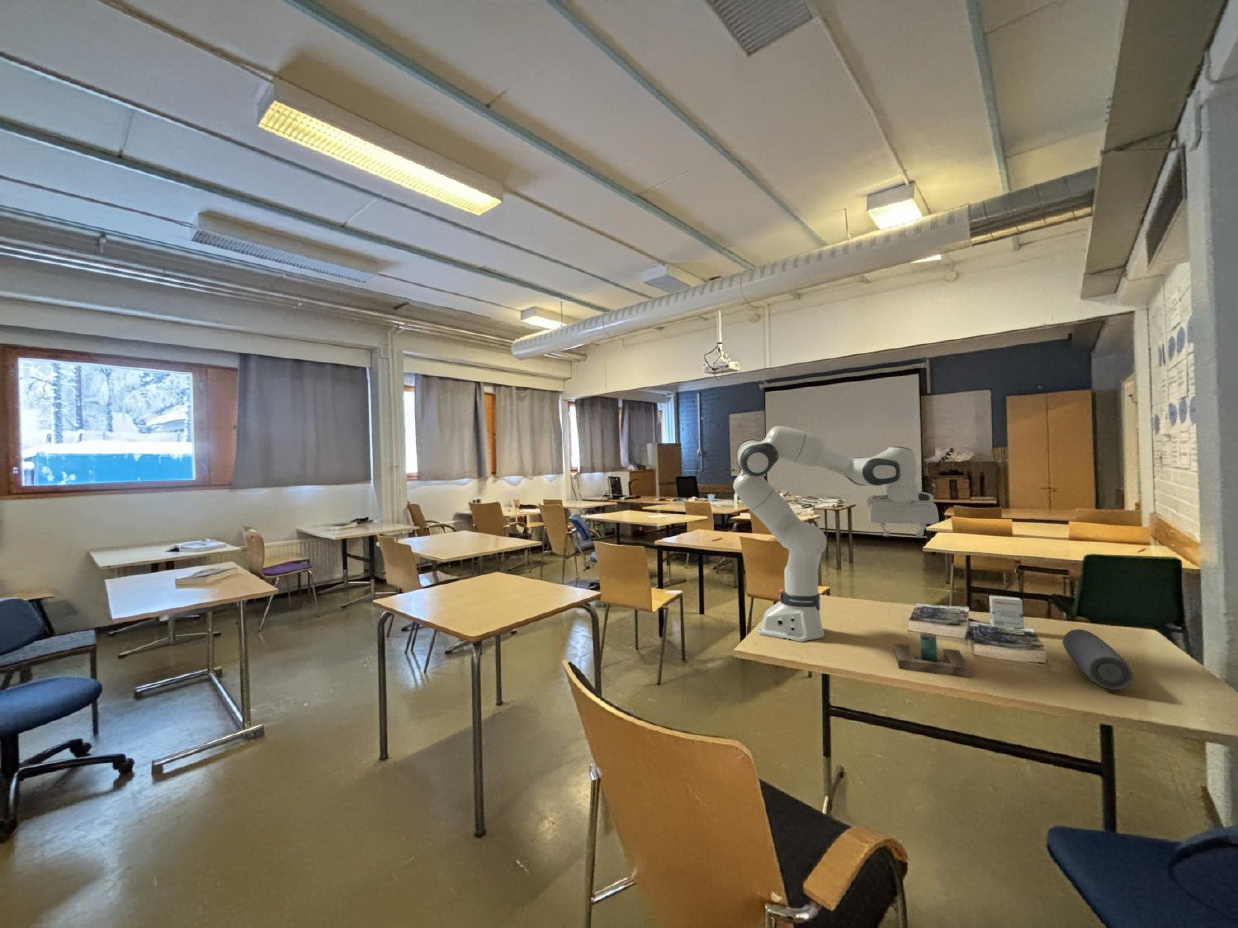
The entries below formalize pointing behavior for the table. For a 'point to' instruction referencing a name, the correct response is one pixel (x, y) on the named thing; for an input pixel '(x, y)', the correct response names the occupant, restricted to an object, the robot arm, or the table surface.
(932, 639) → the bobbin
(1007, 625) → the ink box
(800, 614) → the robot arm
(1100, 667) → the bluetooth speaker
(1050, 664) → the table surface
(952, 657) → the notched board
